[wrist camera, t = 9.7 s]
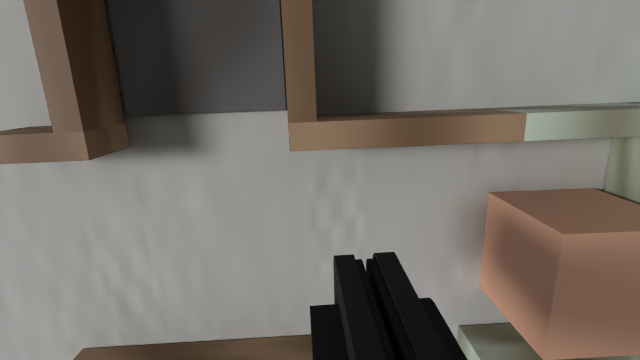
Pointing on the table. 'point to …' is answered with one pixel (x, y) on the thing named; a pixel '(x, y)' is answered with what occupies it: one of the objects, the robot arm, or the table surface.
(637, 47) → the table surface
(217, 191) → the table surface
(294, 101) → the wooden zigzag frame
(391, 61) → the table surface
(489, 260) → the block
